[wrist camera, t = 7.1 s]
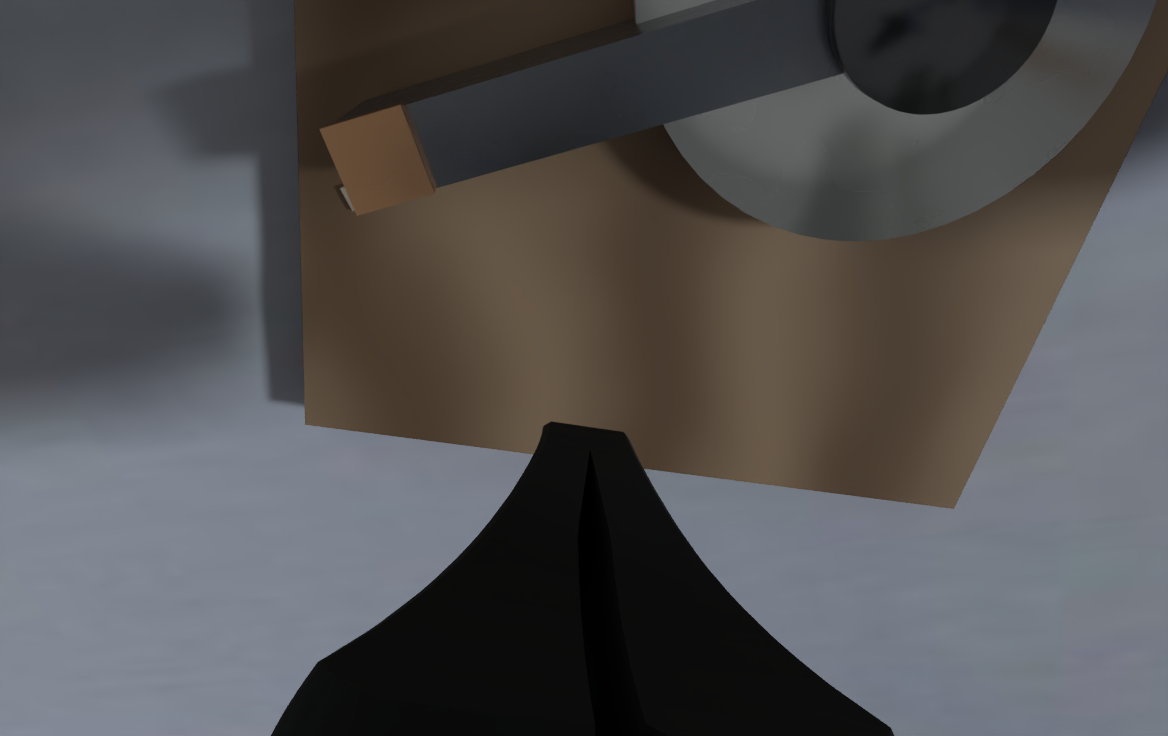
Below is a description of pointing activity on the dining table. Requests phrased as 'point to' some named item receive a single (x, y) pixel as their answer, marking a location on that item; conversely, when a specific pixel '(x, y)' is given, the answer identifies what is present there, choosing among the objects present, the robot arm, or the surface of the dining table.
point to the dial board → (666, 284)
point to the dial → (774, 105)
